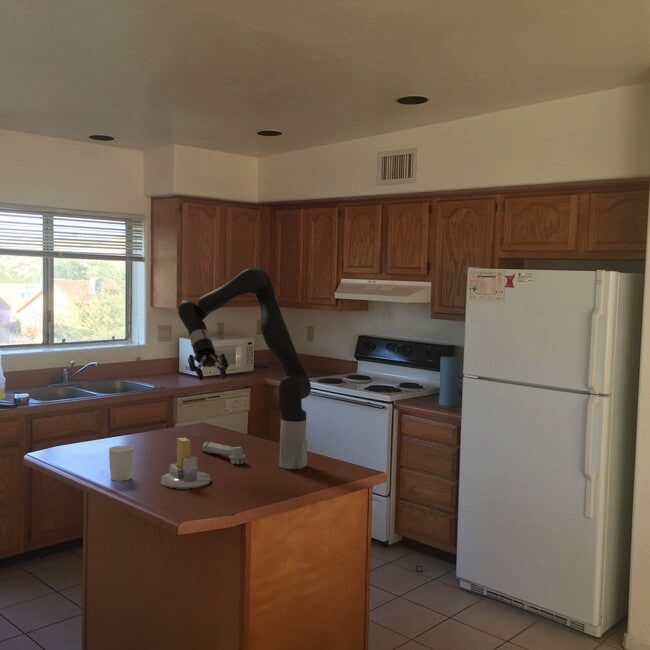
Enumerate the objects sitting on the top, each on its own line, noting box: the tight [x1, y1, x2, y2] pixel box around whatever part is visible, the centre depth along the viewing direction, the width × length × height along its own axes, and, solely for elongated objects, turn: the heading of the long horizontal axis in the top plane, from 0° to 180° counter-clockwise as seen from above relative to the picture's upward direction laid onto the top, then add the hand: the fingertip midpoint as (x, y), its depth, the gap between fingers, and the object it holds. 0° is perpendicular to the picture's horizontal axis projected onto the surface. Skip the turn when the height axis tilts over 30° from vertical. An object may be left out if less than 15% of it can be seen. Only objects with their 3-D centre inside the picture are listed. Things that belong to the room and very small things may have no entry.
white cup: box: [108, 445, 135, 482], centre depth 229 cm, size 8×8×10 cm
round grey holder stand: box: [160, 456, 212, 490], centre depth 228 cm, size 16×16×9 cm
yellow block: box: [176, 437, 191, 469], centre depth 230 cm, size 5×3×12 cm, turn 32°
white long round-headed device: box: [200, 441, 246, 465], centre depth 261 cm, size 5×7×25 cm
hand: (213, 378), depth 252 cm, fingers open, 8 cm apart
